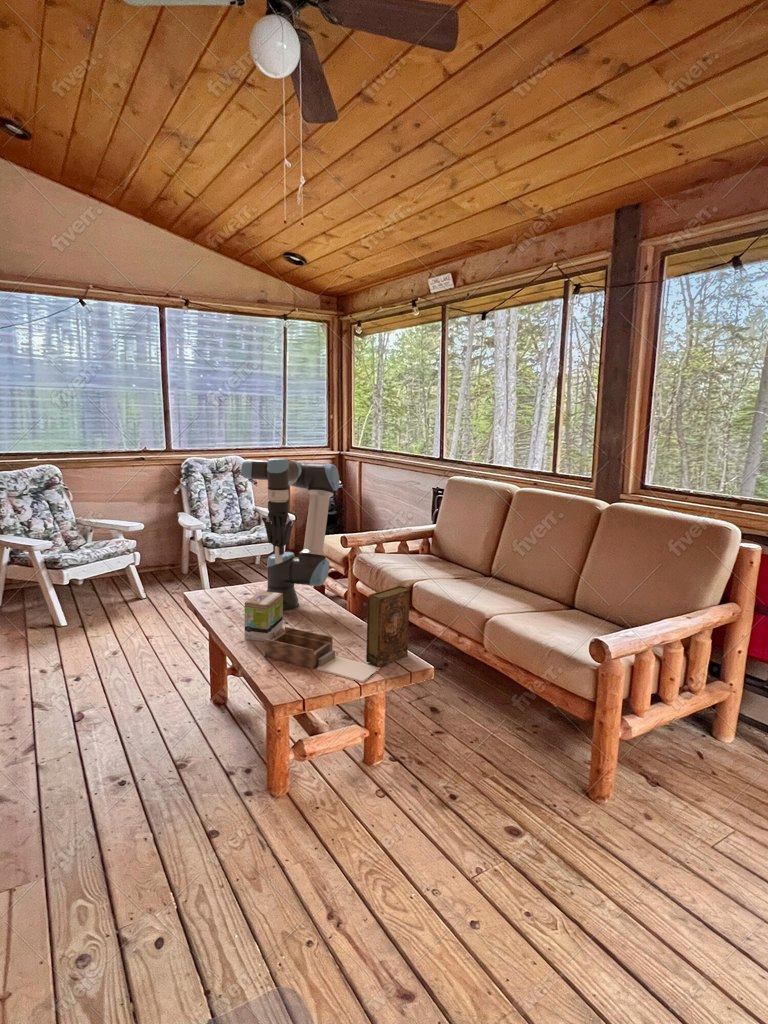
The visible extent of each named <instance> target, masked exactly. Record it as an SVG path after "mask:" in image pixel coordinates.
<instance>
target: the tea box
mask: <svg viewBox="0 0 768 1024" xmlns="http://www.w3.org/2000/svg"><path fill="white" fill-rule="evenodd" d="M283 615H284V610H283V593H274V592H266V591H263V590H260V591H258V593H256V594H254V595H253V596H252V597H251V598H249V599H248V600H246V601H245V602H244V633H243V635H244V636H243V637H244V639H245V640H250V641H251V640H252V641H259V642H264V639H270V640H272V639H273V637H274V636H275V635H276V634H278V633H279V632H280V631H281V630H282V629H283V628H284V626H283V624H284V622H283V619H284V616H283Z"/></svg>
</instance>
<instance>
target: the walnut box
mask: <svg viewBox="0 0 768 1024" xmlns="http://www.w3.org/2000/svg"><path fill="white" fill-rule="evenodd" d="M333 638H334V637H333V636H330V635H325V634H321V633H317V632H312V631H307V630H303V629H297V628H293V627H288V626H285V627H284V632H282V633H280V634H279V635H276V636H275V637H274V638H273V637H272V638H271V639H264V641H263V643H264V645H263V646H264V658H266V659H270V660H275V661H279V662H282V663H285V664H286V663H287V664H290V665H291V664H292V665H294V666H299V667H302V668H307V669H311V670H314V669H315V668H318V667H319V666H318V659H319V658H320V657H322V656H324V655H325V654H327V653H328V652H330V651H331V650H333V641H334V640H333Z"/></svg>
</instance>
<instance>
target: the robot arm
mask: <svg viewBox="0 0 768 1024" xmlns="http://www.w3.org/2000/svg"><path fill="white" fill-rule="evenodd" d="M240 467H241V468H240V469H241V470H240V473H241V475H242V477H243V478H244V479H247V480H260V481H267V500H268V501H267V511H268V513H267V516H265V517H263V518H262V520H261V521H262V522H263V523H264V527H265V532H266V536H267V541H268V543H269V544H270V545H272V547H273V548H272V550H273V551H272V552H273V554H271V555H269V556H268V557H267V563H266V570H267V571H266V572H267V574H266V575H267V576H266V577H267V579H266V580H267V587H266V588H267V589H266V591H265V592H274V593H283V611H286V610H292V609H295V608H296V607H298V606H299V597H298V594H297V591H296V589H295V585H302V586H303V585H304V586H310V587H315V586H316V587H319V586H322V585H324V584H325V582H326V580H327V578H328V575H329V572H330V561H329V560H328V559H327V555H326V554H325V552H324V548H325V541H326V540H325V538H326V530H327V523H328V515H329V507H330V498H332V497H333V496H334V493H335V492H336V491H338V490H339V488H340V474H339V470H338V468H337V466H336V465H335V464H333V463H332V464H331V463H327V462H326V463H325V462H324V463H319V462H298V461H296V460H288V459H287V458H285V457H272V458H269V459H267V460H264V459H253V458H251V459H245V460H243V462H242V464H241V466H240ZM289 486H290V487H291V486H292V487H296V488H299V489H305V490H307V493H308V494H309V503H308V511H307V512H308V513H307V518H306V519H307V520H306V526H305V532H304V533H305V535H304V542H303V543H304V544H303V549H302V550H301V551H299V553H298V556H295V553H294V552H292V551H285V546H287V545H289V544H290V538H291V534H292V531H293V529H292V528H293V526H294V524H295V520H294V519H292V518H290V515H289V509H290V507H289V506H290V505H289V503H290V502H289V501H288V500H289V499H290V495H289V494H290V493H289Z"/></svg>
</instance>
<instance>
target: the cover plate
mask: <svg viewBox="0 0 768 1024" xmlns="http://www.w3.org/2000/svg"><path fill="white" fill-rule="evenodd" d="M316 668H317V670H318V671H319V672H320V671H321V672H324V673H328V674H331V675H335V676H337V677H341V678H344V677H345V678H346V679H348V680H352V681H354V680H355V682H358V683H362V684H363V683H364V682H366V681H368V680H369V679H370V678H371V677H372V676H373V675H372V674H374V673H375V672H376V671H377V670H379V669H380V668H381V667H380V668H379V667H377V666H376V665H375V666H374V665H371V664H369V663H368V664H367V663H364V662H359V661H356V660H352V659H349V658H345V657H342V656H337V655H336V650H334V649H332V650H331V651H330V652H328V653H327V654H325V655H324V656H322V657H320V658H319V659H318V666H317V667H316ZM380 670H381V669H380ZM380 670H379V671H380ZM376 673H377V672H376ZM376 673H375V674H376ZM375 674H374V675H375ZM371 675H372V676H371ZM370 676H371V677H370ZM369 677H370V678H369ZM345 678H344V679H345ZM368 678H369V679H368Z"/></svg>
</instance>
